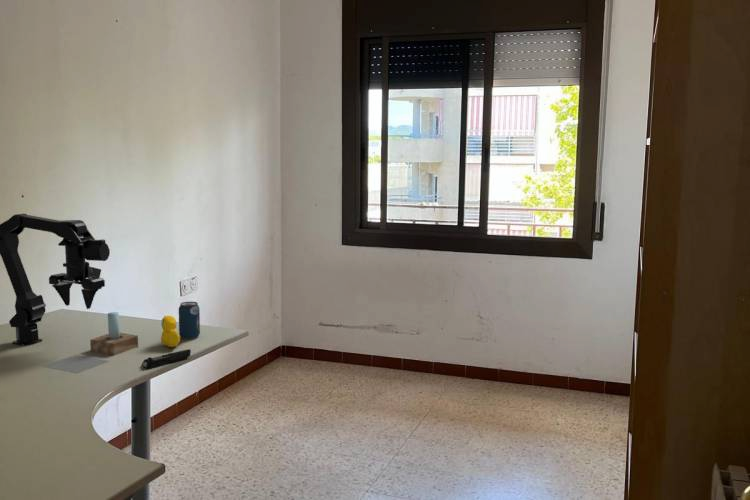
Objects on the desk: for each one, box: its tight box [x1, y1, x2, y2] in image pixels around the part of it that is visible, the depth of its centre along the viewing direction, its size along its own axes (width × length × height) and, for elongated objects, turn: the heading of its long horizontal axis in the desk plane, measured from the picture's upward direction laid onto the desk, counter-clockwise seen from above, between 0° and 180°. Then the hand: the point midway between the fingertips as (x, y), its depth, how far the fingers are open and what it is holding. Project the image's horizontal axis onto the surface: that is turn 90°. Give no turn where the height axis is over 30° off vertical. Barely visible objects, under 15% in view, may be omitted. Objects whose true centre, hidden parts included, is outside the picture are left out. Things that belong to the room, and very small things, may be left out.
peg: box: [107, 311, 120, 340], centre depth 202 cm, size 3×3×12 cm
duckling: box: [160, 315, 181, 348], centre depth 208 cm, size 11×5×10 cm, turn 33°
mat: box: [42, 354, 110, 374], centre depth 188 cm, size 14×12×1 cm
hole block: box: [89, 332, 139, 356], centre depth 203 cm, size 10×10×4 cm
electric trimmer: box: [141, 348, 192, 370], centre depth 192 cm, size 4×16×3 cm, turn 138°
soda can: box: [178, 301, 201, 340], centre depth 218 cm, size 7×7×12 cm
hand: (78, 307), depth 204 cm, fingers open, 9 cm apart
